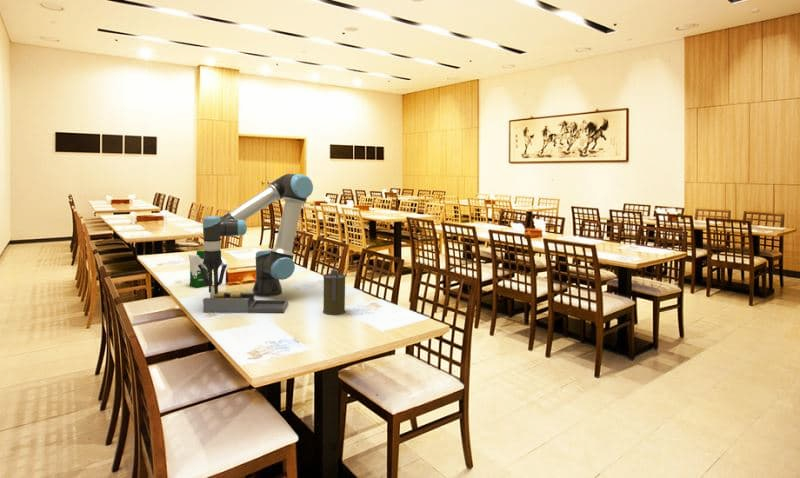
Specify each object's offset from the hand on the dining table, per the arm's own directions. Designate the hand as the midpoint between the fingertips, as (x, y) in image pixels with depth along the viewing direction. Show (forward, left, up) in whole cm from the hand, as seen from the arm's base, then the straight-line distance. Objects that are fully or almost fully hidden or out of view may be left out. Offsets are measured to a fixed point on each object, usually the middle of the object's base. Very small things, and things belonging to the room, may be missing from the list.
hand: (213, 299), depth 235 cm
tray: (-25, 0, -4) cm, 26 cm away
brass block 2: (-10, 0, -1) cm, 10 cm away
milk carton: (+21, -45, -5) cm, 50 cm away
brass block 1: (-3, 0, -1) cm, 3 cm away
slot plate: (-7, 0, -4) cm, 8 cm away
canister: (-56, +5, -5) cm, 57 cm away
